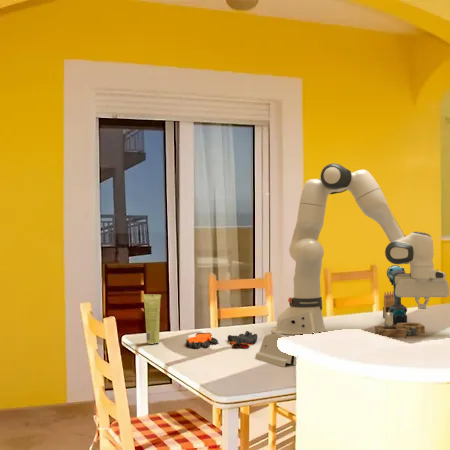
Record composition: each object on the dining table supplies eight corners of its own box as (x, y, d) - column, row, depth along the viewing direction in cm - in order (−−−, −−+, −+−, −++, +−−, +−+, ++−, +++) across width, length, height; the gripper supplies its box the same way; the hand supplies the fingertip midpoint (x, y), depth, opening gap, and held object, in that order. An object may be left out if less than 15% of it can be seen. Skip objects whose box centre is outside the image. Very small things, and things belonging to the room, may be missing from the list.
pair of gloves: (181, 350, 233) (180, 341, 233) (193, 337, 257) (193, 329, 257) (254, 350, 229) (253, 340, 229) (259, 337, 253) (259, 329, 253)
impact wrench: (401, 318, 285) (399, 263, 285) (411, 326, 263) (409, 267, 262) (384, 318, 286) (382, 264, 286) (392, 326, 263) (390, 267, 263)
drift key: (394, 335, 243) (394, 328, 243) (392, 334, 247) (392, 327, 247) (416, 335, 242) (416, 328, 242) (414, 333, 246) (414, 326, 246)
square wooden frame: (401, 333, 249) (401, 326, 249) (397, 329, 258) (396, 323, 258) (424, 332, 248) (424, 326, 248) (419, 328, 257) (419, 322, 257)
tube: (158, 341, 248) (156, 293, 248) (162, 344, 244) (160, 294, 244) (144, 343, 246) (143, 294, 246) (148, 345, 241) (147, 295, 241)
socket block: (379, 338, 240) (379, 330, 240) (375, 333, 250) (374, 326, 250) (406, 337, 240) (405, 329, 240) (400, 332, 250) (400, 325, 249)
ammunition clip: (386, 318, 285) (385, 292, 285) (383, 318, 287) (382, 292, 287) (401, 315, 291) (401, 290, 291) (398, 315, 293) (397, 290, 293)
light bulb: (385, 336, 243) (385, 313, 243) (384, 334, 247) (383, 312, 247) (394, 336, 243) (393, 313, 243) (392, 334, 246) (391, 312, 246)
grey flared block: (254, 358, 213) (261, 329, 215) (264, 361, 215) (271, 332, 217) (284, 367, 199) (291, 336, 200) (295, 370, 201) (302, 339, 203)
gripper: (396, 274, 241) (396, 309, 241) (450, 274, 240) (450, 309, 240) (393, 272, 247) (393, 307, 247) (445, 272, 246) (446, 307, 246)
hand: (422, 308), depth 244 cm, fingers closed
